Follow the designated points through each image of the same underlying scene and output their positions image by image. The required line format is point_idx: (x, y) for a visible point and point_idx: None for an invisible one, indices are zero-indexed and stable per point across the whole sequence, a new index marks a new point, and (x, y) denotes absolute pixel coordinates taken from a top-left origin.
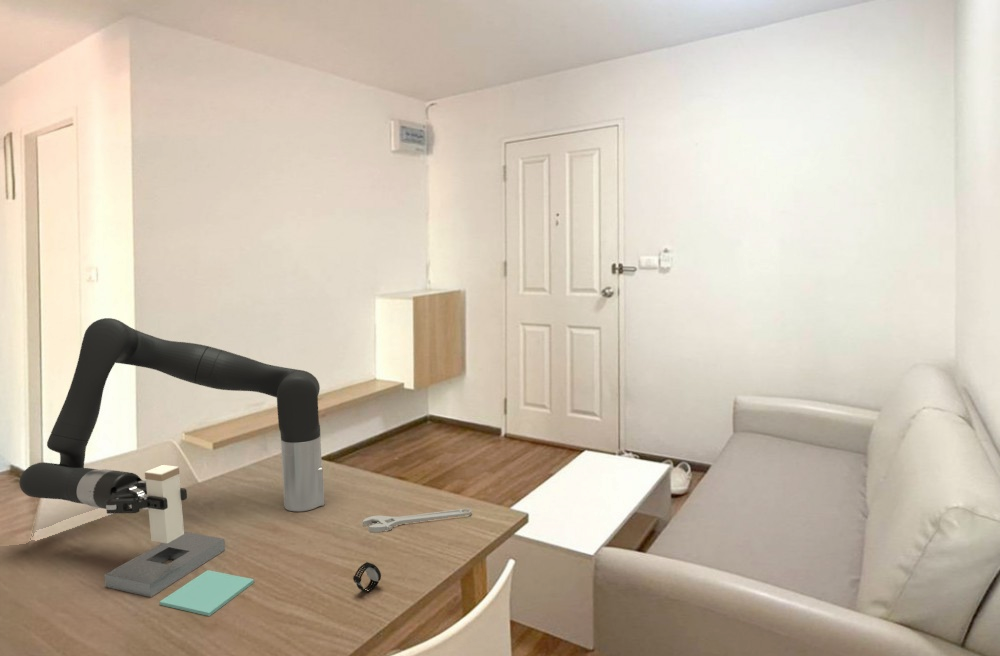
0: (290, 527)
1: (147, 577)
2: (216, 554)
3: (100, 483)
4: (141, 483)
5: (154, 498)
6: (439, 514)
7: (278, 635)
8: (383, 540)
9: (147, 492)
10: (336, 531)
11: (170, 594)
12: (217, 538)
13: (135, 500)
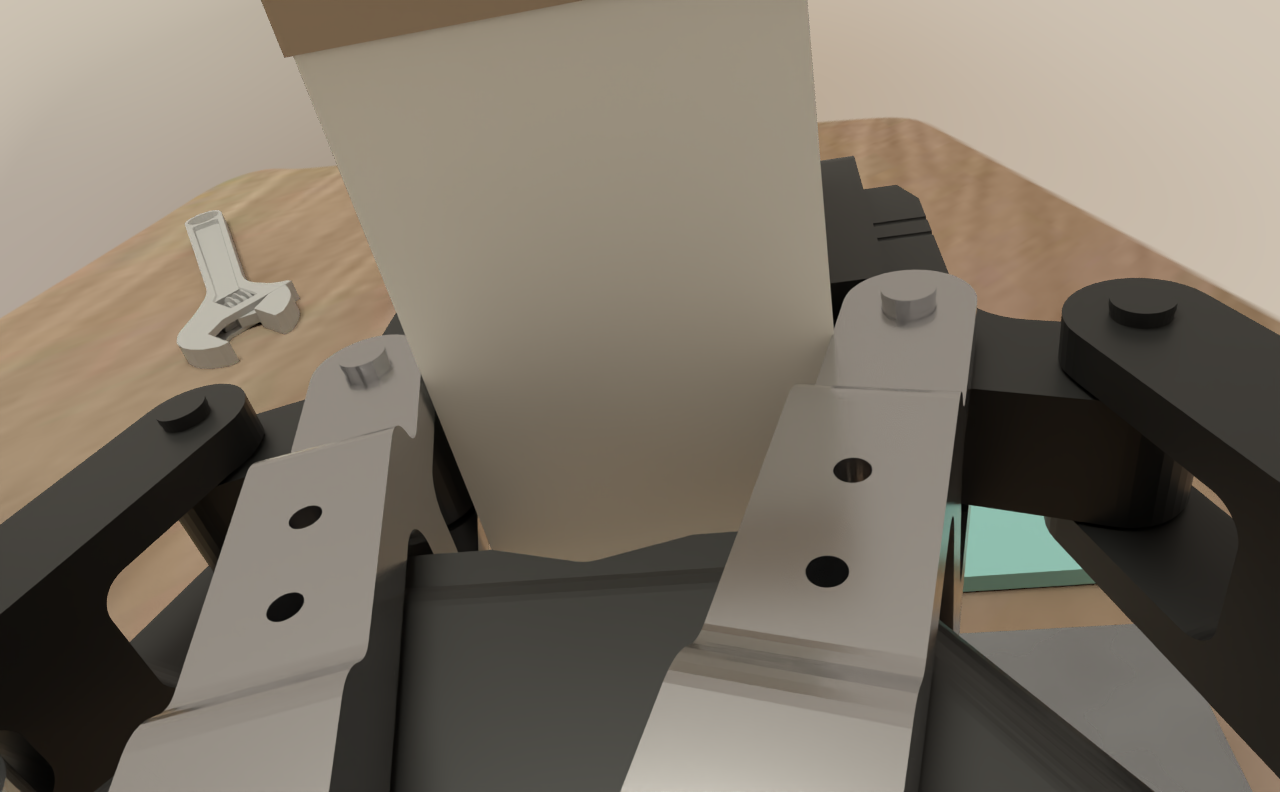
0: (172, 579)
1: (1128, 718)
2: None
3: None
4: (349, 763)
5: (869, 231)
6: (209, 246)
7: (978, 197)
8: (367, 280)
9: (827, 287)
10: (268, 404)
11: (1067, 570)
12: None
13: (1151, 282)
